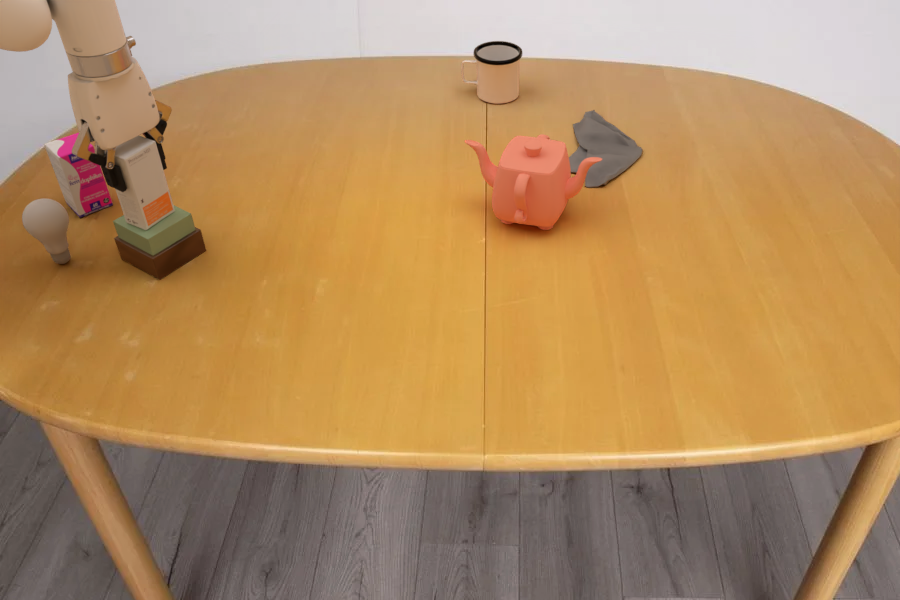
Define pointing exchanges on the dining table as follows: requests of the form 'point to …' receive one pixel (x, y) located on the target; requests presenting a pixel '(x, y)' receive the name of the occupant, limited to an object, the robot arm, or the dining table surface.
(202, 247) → the walnut block
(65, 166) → the supplement box
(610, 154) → the cloth
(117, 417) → the dining table surface
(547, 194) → the teapot
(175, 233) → the green block
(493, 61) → the mug
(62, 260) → the lightbulb
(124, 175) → the cosmetic box
